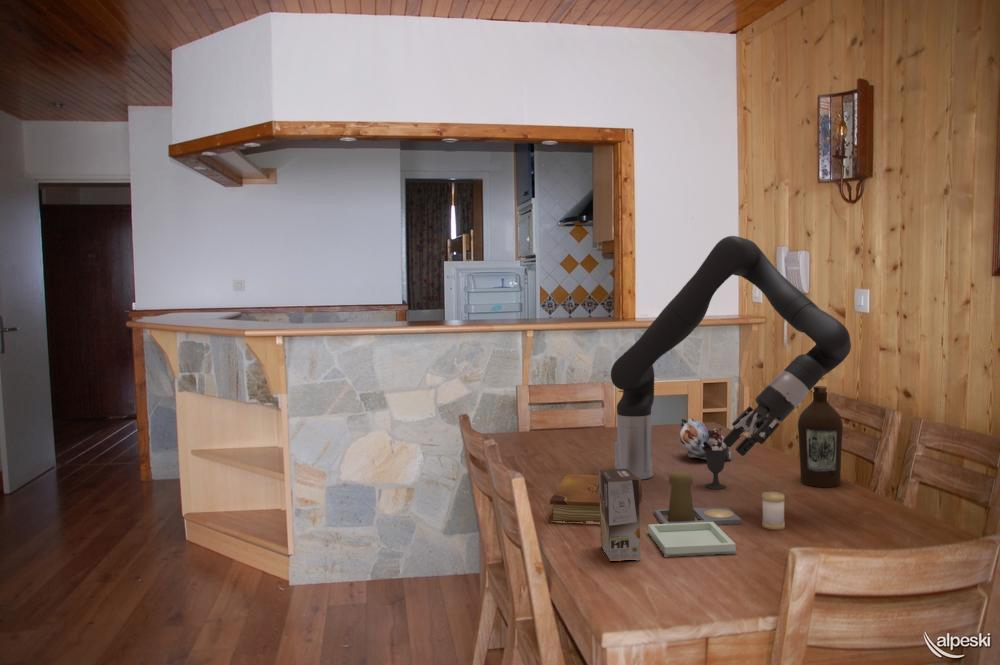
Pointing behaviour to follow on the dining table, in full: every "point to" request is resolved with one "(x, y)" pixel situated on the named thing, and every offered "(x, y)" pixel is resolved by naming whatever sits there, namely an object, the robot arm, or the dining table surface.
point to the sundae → (715, 458)
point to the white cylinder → (773, 510)
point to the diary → (579, 499)
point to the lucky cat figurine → (697, 438)
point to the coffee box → (619, 514)
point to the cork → (680, 497)
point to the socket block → (705, 516)
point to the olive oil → (820, 442)
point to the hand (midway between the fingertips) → (732, 448)
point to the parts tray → (691, 539)
